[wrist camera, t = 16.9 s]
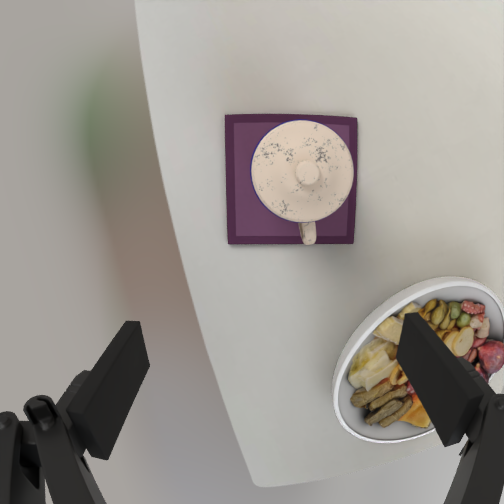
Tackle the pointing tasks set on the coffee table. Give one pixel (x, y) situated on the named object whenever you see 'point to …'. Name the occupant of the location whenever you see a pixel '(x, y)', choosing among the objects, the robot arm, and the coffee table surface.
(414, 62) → the coffee table surface
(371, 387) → the bowl
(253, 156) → the teacup with lid
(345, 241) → the place mat
